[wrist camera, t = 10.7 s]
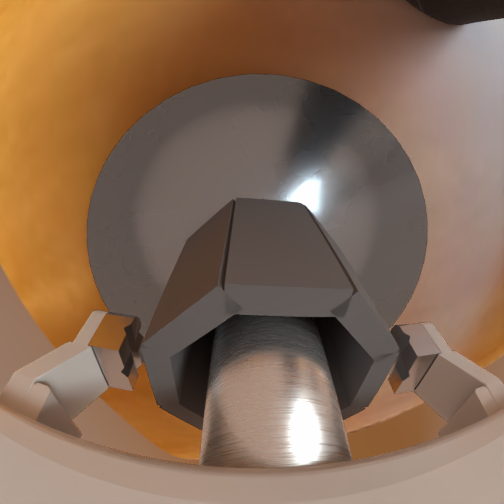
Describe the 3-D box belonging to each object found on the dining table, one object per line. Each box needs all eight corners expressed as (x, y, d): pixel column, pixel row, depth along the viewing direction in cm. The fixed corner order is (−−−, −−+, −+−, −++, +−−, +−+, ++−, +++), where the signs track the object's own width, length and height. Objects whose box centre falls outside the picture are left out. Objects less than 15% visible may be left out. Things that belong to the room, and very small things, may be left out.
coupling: (185, 195, 11) (125, 276, 5) (348, 207, 11) (428, 289, 5) (190, 325, 13) (167, 433, 8) (320, 331, 14) (348, 434, 8)
